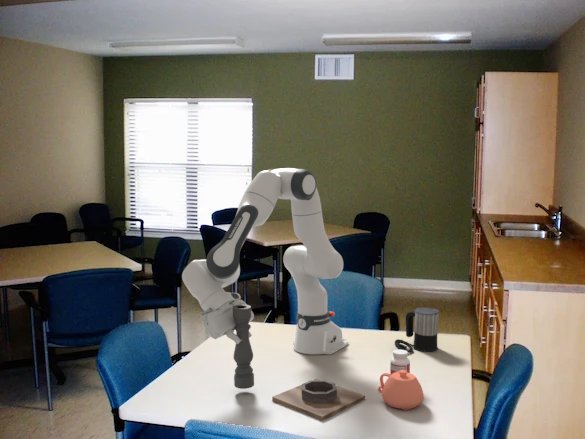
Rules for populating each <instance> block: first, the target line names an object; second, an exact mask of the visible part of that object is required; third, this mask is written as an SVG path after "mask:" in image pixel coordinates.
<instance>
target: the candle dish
mask: <svg viewBox="0 0 585 439" xmlns="http://www.w3.org/2000/svg"><path fill="white" fill-rule="evenodd" d="M271 399H272V402H275V403H277V404H279V403H280V404H279V405H282V406H285V407H287V408H289V409H292V410H294V411H296V412H300V413H302V414H305V415H308V416H310V417H311V418H315V419H316V420H320V421H325V420H327V419H329V418H331V417H333V416H336V415H338V414H339V413H341V412H343V411H345V410H347V409H349V408H352V407H353V406H355V405H357V404H359V403H361V402H364V401H365V400H366V395H364V394H362V393H358V392H357V391H352V390H349V389H347V388H344V387H341V386H338V385H336V383H333V382H331V381H329V380H324V379H322V380H321V379H318V378H314V379H312V380H308V381H306V382H304V383H302V384H299V385H298V386H296V387H293V388H290V389H288V390H285V391H284V392H280V393H278V394H276V395H273V396H272V398H271Z"/></svg>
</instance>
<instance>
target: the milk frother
mask: <svg viewBox="0 0 585 439" xmlns="http://www.w3.org/2000/svg"><path fill="white" fill-rule="evenodd" d="M439 313H440V310H438V309H436V308H433V307H424V306H423V307H417V308H415V309H413V310H410V311H408V312H407V313H406V315H405V332H406V333H405V335H406V337H407V338H411V337H413V344H411V343H410V342H408V341H406V340H403V339H399V338H398V339H395V341H394V346H395V348H396V350H398V349H401V350H406V351H407V352H408V354H409V353H411V352H413V350H417V351H419V352H427V353H431V352H435V351H438V350H439V349H438V348H439V347H438V335H439V334H438V332H439Z"/></svg>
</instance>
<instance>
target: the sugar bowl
mask: <svg viewBox="0 0 585 439" xmlns="http://www.w3.org/2000/svg"><path fill="white" fill-rule="evenodd" d="M384 377H388V378H387V379H386V380H385V383H384V379H383V378H384ZM379 384H380V385H379V386H378V387H377V391H378V393H380V394H381V397H382V399H383V401H384V402H385V403H386V404H387V405H388V406H389V407H394V408H396V409H402V410H405V411H409V410H410V409H414V408H417V407H418V406H419V405H420V404H421V403H422V402H423V400H424V390H423V387H422V386H421V383H420V381H419V379H418V378H417V377H416V376H415V375H414V374H413V373H407V371H405V370H400V371H399V372H395V373H393V374H391V375H390V373H387V372H384V373H381V375H380V377H379Z"/></svg>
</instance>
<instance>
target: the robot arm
mask: <svg viewBox="0 0 585 439" xmlns="http://www.w3.org/2000/svg"><path fill="white" fill-rule="evenodd" d="M278 199H280V200H287V201H288V200H289V201H290V205H291V206H290V209H291V218H292V225H293V226H292V227H293V232H294V235H295V237H296V238H297V239H299V240H300V241H301V243H302V244H303V245H302V244H297V245H291V246H289V247H288V248H287V249H286V250H285V252H284V254H283V258H282V260H283V264H284V265H283V266H284V267H285V268H286V270H288V272H289V273H290V275H291V277H292V279H293V282H294V285H295V288H296V294H297V312H296V328H295V337H294V340H293V350H294V351H295V352H297V353H300V354H303V355H333V354H334V353H336V352H337V351H340V350H341V349H343V348H344V347H346V346H348V345H349V340H347V339H345V338H343V332H342V329H341V327H340V326H338V325H337V324H336V323H334V322H333V321H332V320H331V318H334V317H335V314H336V313H335V311H331V310H329V311H328V292H327V290H326V288H325V287H323V285H322V284H321V283H320V280H319V279H322V280H326V279H327V280H328V279H329V280H330V279H336V278H338V277H339V276H340V275H341V273H342V271H343V269H344V259H343V257H342V255H341V254H340V253H339V252H338V251H337V250H336V249H335V248H334V247H333V245H332V243H331V242H330V240H329V237H328V235H327V232H326V230H325V225H324V217H323V209H322V202H321V198H320V194H319V191H318V187H317V180H316V177H315V175H314V173H312V171H310V170H308V169H304V168H295V167H284V168H282V167H281V168H280V167H279V168H275V167H274V168H269V169H267V170H262V171H261V170H260V171H259V172H257V174H256V175H255V177H253V179H252V180H251V182H250V184H249V185H248V186H247V188H246V190H245V191H244V194H243V195H242V198H241V199H240V202H239V204H238V207H237V211H236V214H235V217H234V219H233V220H232V222H231V224H230V225H229V228H227V231H226V232H225V234H224V236H223V238H222V239H221V240H220V242H219V243H217V244H216V245H215V246H213V247H212V248H211V249H210V250H209V252H208V254H206V255H207V256H206V259H194V260H192V261H190V262H189V263H188V264H187V265H185V267H184V268H183V271H182V274H181V279H182V282H183V284H184V285H185V287H186V288H187V290H188V291H189V293H190V294H191V295H192V297H193V298H195V299H196V300H197V302H198V303H199V306H200V307H201V309H202V311H201V312H200V315H199V318H200V320H201V321H202V324H203V326H204V328H205V330H206V331H207V333H208V335H209V336H210V338H212V339H214V340H217V339H219V338H221V337H223V336H226V337H227V338H228V339H230V340H232V341H234V344H235V345H236V344H239V343H240V342H241V341H242V338H241V337H240V336H237V335H236V333H234V332H235V331H236V330H235V329H234V327H235V325H236V323H235V321H234V318H233V306H236V305H248V304H247V303H246V302H245V301H244V300H242V299H241V298H242V297H241V295H240V294H239V293H237V292H229V291H225V289H224V288H227V287H228V286H230V285H232V284H234V283H235V282H237V280H238V279H239V277H240V275H241V274H240V273H241V266H240V265H241V264H240V252H241V249H242V248H243V245H244V243H245V242H246V240H247V238H248V236H249V234H250V232H251V231H252V229H253V228H255V227H260V226H262V225H264V224H265V223H266V221H267V220H268V219H269V217H270V216H271V215H272V213H273V211H274V209H275V207H276V204H277V201H278ZM254 319H255V314H254V312H253V311H252V310H251V318H250V321H249V323H250V322H252V320H254ZM252 335H253V334H252V333H251V331H249V339H250V338H251V337H252Z"/></svg>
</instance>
